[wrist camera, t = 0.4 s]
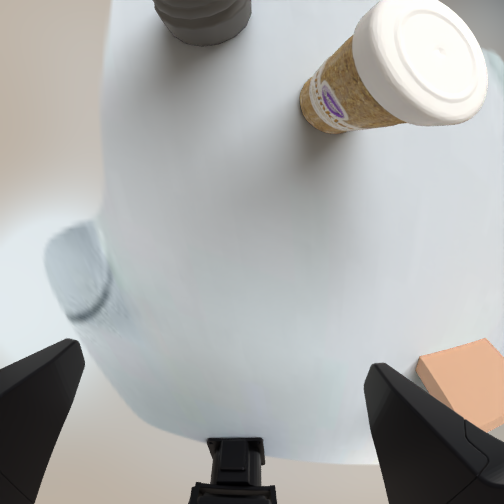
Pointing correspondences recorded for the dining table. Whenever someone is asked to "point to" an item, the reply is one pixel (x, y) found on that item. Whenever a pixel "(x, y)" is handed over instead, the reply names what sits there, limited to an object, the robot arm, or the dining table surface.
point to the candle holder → (204, 19)
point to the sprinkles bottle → (399, 71)
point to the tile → (467, 381)
